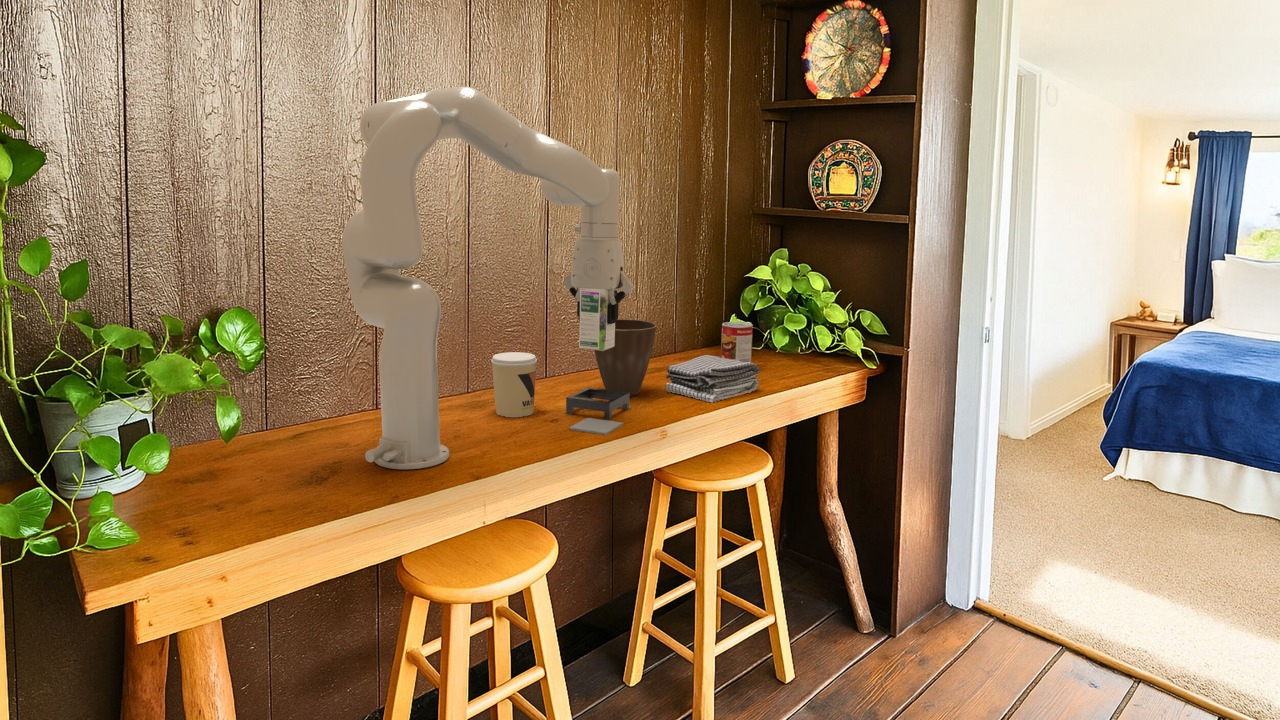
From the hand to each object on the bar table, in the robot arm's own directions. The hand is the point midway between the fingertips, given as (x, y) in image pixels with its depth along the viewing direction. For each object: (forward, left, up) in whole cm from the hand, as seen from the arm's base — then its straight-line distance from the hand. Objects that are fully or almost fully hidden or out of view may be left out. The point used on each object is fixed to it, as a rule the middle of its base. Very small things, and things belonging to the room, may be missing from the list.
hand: (597, 320), depth 175 cm
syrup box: (0, 0, -6) cm, 6 cm away
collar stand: (+3, +1, -20) cm, 20 cm away
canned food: (+56, -13, -20) cm, 61 cm away
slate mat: (-8, -4, -20) cm, 22 cm away
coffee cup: (-6, +16, -20) cm, 27 cm away
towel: (+31, -15, -20) cm, 40 cm away
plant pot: (+20, +3, -20) cm, 29 cm away
